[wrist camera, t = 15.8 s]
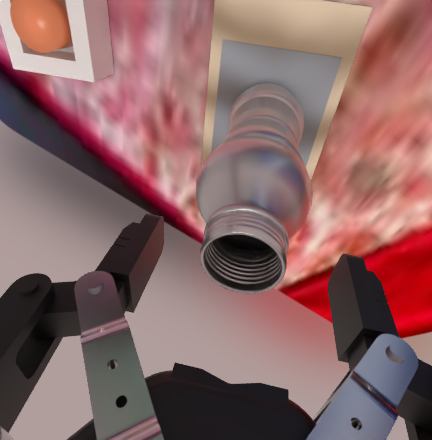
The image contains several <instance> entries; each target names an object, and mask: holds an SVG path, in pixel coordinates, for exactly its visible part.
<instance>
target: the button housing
mask: <svg viewBox="0 0 432 440" xmlns="http://www.w3.org/2000/svg"><path fill="white" fill-rule="evenodd" d="M12 1H13V0H0V24H1V28H2V31H3V34H4V38H5V41H6V45H7V48H8V51H9V55H10V58H11V62H12V65H13V69H18V70H24V71H30V72H36V73H42V74H48V75H54V76H60V77H66V78H72V79H77V80H83V81H89V82H96V81H98V80H101V79H103V78H105V77H107V76H109V75H112V74H114V65H113V55H112V45H111V35H110V25H109V15H108V5H107V0H65V1H66V7H67V13H68V19H69V25H70V30H71V36H72V42H73V46H72V47H67V48H63V49H59V50H55V51H51V52H47V53H40V52H37V51H34V50H32V49H31V48H29V47H28V46H27V45H26V44H25V43H24V42H23V41H22V40H21V39H20V38H19V36H18V35H17V33H16V31H15V29H14V27H13V24H12V21H11V16H10V7H11V3H12Z"/></svg>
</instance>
